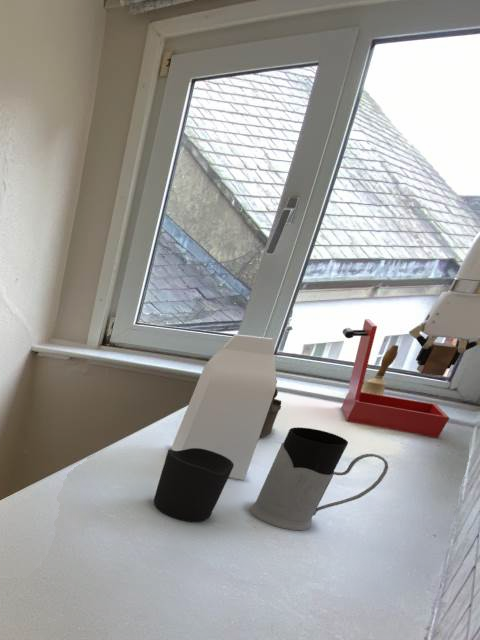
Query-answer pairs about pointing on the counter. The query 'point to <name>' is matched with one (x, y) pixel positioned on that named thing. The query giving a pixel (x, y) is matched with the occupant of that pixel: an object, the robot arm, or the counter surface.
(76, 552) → the counter surface
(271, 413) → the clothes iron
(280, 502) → the glass holder
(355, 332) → the lid
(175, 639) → the counter surface
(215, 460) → the pen holder
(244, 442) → the milk
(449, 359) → the block
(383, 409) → the red shallow rectangular box
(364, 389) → the hand bell
